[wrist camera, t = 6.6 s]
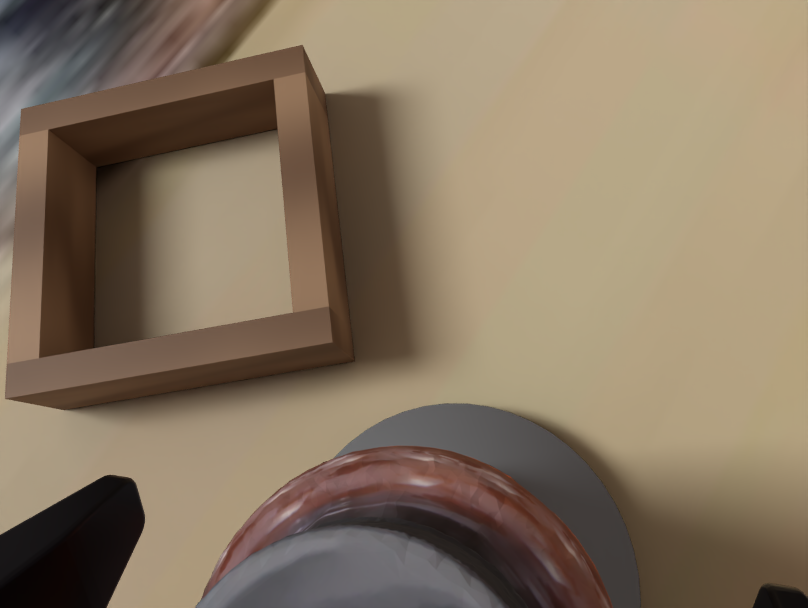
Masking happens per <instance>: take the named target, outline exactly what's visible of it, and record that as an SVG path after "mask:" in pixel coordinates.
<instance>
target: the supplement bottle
mask: <svg viewBox="0 0 808 608" xmlns="http://www.w3.org/2000/svg"><path fill="white" fill-rule="evenodd" d="M195 608H613V606H612V603H611V600H610V598H609V596H608V593H607V591H606V589H605V586H604V584H603V582H602V580H601V577H600V575H599V573H598V571H597V569H596V567H595V565H594V564H593V562H592V561H591V559H590V558H589V556H588V554H587V553H586V551H585V550H584V548H583V547H582V545H581V544H580V542H579V541H578V539H577V538H576V537H575V536H574V534H573V533H572V532H571V531H570V529H569V528H568V527H567V526H566V524H565V523H564V522H563V521H562V520H561V519H560V518H559V517H558V516H557V515H556V514H555V513H554V512H552V511H551V510H550V509H548V508H547V507H546V506H545V505H544V504H543V503H542V502H541V501H540V500H539V499H537V498H536V497H535V496H534V495H532V494H531V493H530V492H529V491H527V490H526V489H525V488H523V487H522V486H521V485H519V484H518V483H517V482H516V481H515V480H514V479H512V478H511V477H510V476H508V475H506V474H505V473H503V472H501V471H500V470H498V469H496V468H494V467H493V466H491V465H488V464H486V463H483V462H481V461H478V460H476V459H474V458H471V457H468V456H465V455H462V454H459V453H456V452H452V451H448V450H443V449H438V448H431V447H421V446H387V447H378V448H372V449H366V450H360V451H354V452H350V453H348V454H345V455H343V456H339V457H336V458H334V459H331V460H329V461H326V462H323V463H322V464H320V465H318V466H316V467H314V468H312V469H309V470H307V471H306V472H304V473H302V474H301V475H299V476H297V477H296V478H294V479H292V480H291V481H289V482H288V483H287V484H286V485H285V486H283V487H282V488H280V489H279V490H278V491H277V492H275V493H274V494H273V495H272V496H271V497H270V498H269V499H268V500H266V501H265V502H264V503H263V504H262V505H261V506H260V507H259V508H258V509H257V510H256V511H255V512H254V513H253V514H252V515H251V516H250V518H249V519H248V520H247V521H246V522H245V524H244V525H243V526H242V527H241V529H240V530H239V531H238V532H237V533H236V534H235V535H234V537H233V539H232V540H231V542H230V543H229V544H228V546H227V548H226V549H225V551H224V552H223V553H222V555H221V556H220V558H219V560H218V562H217V564H216V566H215V569H214V571H213V573H212V576H211V578H210V580H209V582H208V584H207V586H206V588H205V590H204V593H203V596H202V599H201V601H200V602H199V603H198V604H197V605H196V607H195Z"/></svg>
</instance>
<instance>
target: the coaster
mask: <svg viewBox="0 0 808 608" xmlns="http://www.w3.org/2000/svg"><path fill="white" fill-rule="evenodd" d="M387 446H421V447H431V448H438V449H443V450H448V451H452V452H456V453H459V454H462V455H465V456H468V457H471V458H474V459H476V460H478V461H481V462H483V463H486V464H488V465H491V466H493V467H494V468H496V469H498V470H500V471H501V472H503V473H505V474H506V475H508V476H510V477H511V478H512V479H514V480H515V481H516V482H517V483H518V484H519V485H521V486H522V487H523V488H525V489H526V490H527V491H529V492H530V493H531V494H532V495H534V496H535V497H536V498H537V499H539V500H540V501H541V502H542V503H543V504H544V505H545V506H546V507H547V508H548V509H550V510H551V511H552V512H554V513H555V514H556V515H557V516H558V517H559V518H560V519H561V520H562V521H563V522H564V523H565V524H566V526H567V527H568V528H569V529H570V531H571V532H572V533H573V534H574V536H575V537H576V538H577V539H578V541H579V542H580V544H581V545H582V547H583V548H584V550H585V551H586V553H587V554H588V556H589V558H590V559H591V561H592V562H593V564H594V565H595V567H596V569H597V571H598V573H599V575H600V577H601V580H602V582H603V584H604V586H605V589H606V591H607V593H608V596H609V598H610V600H611V603H612V606H613V608H640V607H641V599H640V585H639V574H638V569H637V564H636V559H635V554H634V550H633V547H632V544H631V540H630V537H629V534H628V531H627V528H626V526H625V523H624V521H623V519H622V517H621V515H620V513H619V511H618V508H617V506H616V504H615V502H614V501H613V499H612V498H611V496H610V494H609V493H608V491H607V490H606V488H605V486H604V485H603V483H602V482H601V481H600V479H599V478H598V477H597V476H596V474H595V473H594V472H593V471H592V469H591V468H590V467H589V466H588V464H587V463H586V462H585V461H584V460H583V459H582V458H581V457H580V456H579V455H577V454H576V453H575V452H574V451H573V450H572V449H571V448H570V447H569V446H568V445H567V444H565V443H564V442H563V441H561V440H560V439H559V438H557V437H556V436H555V435H553V434H552V433H551V432H549V431H547V430H545V429H544V428H542V427H540V426H538V425H537V424H535V423H533V422H531V421H529V420H527V419H524V418H522V417H520V416H517V415H515V414H512V413H510V412H506V411H503V410H499V409H495V408H492V407H488V406H480V405H473V404H438V405H430V406H423V407H420V408H416V409H412V410H408V411H404V412H402V413H399V414H397V415H395V416H392V417H390V418H387V419H385V420H383V421H381V422H379V423H378V424H376V425H374V426H372V427H371V428H369V429H367V430H366V431H364V432H363V433H362V434H360V435H359V436H358V437H356V438H355V439H354V440H352V441H351V442H350V443H349V444H348V445H346V446H345V447H344V448H343V449H342V450H341V451H340V452H339V453H338V454H337V455H336V456H335V457H334V458H336V457H339V456H343V455H345V454H348V453H350V452H354V451H360V450H366V449H372V448H378V447H387ZM334 458H333V459H334Z"/></svg>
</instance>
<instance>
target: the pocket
mask: <svg viewBox="0 0 808 608" xmlns="http://www.w3.org/2000/svg"><path fill="white" fill-rule="evenodd" d="M273 129H278V138H279V150H280V162H281V174H282V186H283V198H284V210H285V222H286V234H287V246H288V258H289V270H290V282H291V294H292V306H293V313H289V314H283V315H278V316H272V317H266V318H261V319H255V320H250V321H244V322H239V323H233V324H227V325H222V326H216V327H211V328H205V329H199V330H194V331H188V332H183V333H177V334H171V335H166V336H160V337H155V338H149V339H143V340H138V341H132V342H127V343H121V344H115V345H110V346H104V347H99V348H94V289H95V220H96V167H100V166H105V165H109V164H114V163H119V162H123V161H128V160H133V159H137V158H142V157H147V156H151V155H156V154H161V153H165V152H170V151H175V150H179V149H184V148H189V147H193V146H198V145H203V144H208V143H212V142H217V141H222V140H226V139H231V138H236V137H240V136H245V135H250V134H254V133H259V132H264V131H268V130H273ZM352 361H355V359H354V350H353V341H352V332H351V323H350V314H349V305H348V296H347V287H346V278H345V269H344V260H343V251H342V242H341V233H340V224H339V215H338V206H337V197H336V188H335V179H334V170H333V161H332V152H331V143H330V134H329V125H328V116H327V107H326V98H325V92H324V90H323V88H322V86H321V84H320V81H319V79H318V77H317V75H316V73H315V71H314V69H313V67H312V64H311V62H310V60H309V58H308V56H307V54H306V52H305V50H304V47H303V45H300V46H296V47H291V48H287V49H283V50H278V51H274V52H269V53H265V54H261V55H256V56H252V57H248V58H243V59H239V60H234V61H230V62H226V63H221V64H217V65H212V66H208V67H204V68H199V69H195V70H191V71H186V72H182V73H177V74H173V75H169V76H164V77H160V78H156V79H151V80H147V81H142V82H138V83H134V84H129V85H125V86H120V87H116V88H112V89H107V90H103V91H99V92H94V93H90V94H85V95H81V96H77V97H72V98H68V99H64V100H59V101H55V102H50V103H46V104H42V105H37V106H33V107H28V108H24V109H21V121H20V139H19V156H18V174H17V192H16V210H15V228H14V245H13V263H12V281H11V299H10V317H9V335H8V352H7V370H6V388H5V399H9V400H15V401H20V402H25V403H30V404H35V405H40V406H46V407H51V408H56V409H61V410H66V409H72V408H78V407H84V406H90V405H96V404H102V403H108V402H114V401H120V400H126V399H132V398H138V397H144V396H150V395H156V394H162V393H168V392H174V391H180V390H186V389H192V388H198V387H204V386H209V385H215V384H221V383H227V382H233V381H239V380H245V379H251V378H257V377H263V376H269V375H275V374H281V373H287V372H293V371H299V370H305V369H311V368H317V367H323V366H329V365H335V364H341V363H346V362H352Z"/></svg>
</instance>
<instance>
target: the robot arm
mask: <svg viewBox="0 0 808 608" xmlns="http://www.w3.org/2000/svg"><path fill="white" fill-rule="evenodd" d="M144 523H145V514H144V510H143V506H142V503H141V499H140V496H139V492H138V489H137V485H136V483H135V482H134V481H133V480H132V479H131V478H128V477H122V476H116V475H107V476H104V477H102V478H100V479H98V480H96V481H95V482H93V483H91V484H89V485H87V486H86V487H84V488H82V489H80V490H79V491H77V492H75V493H73V494H72V495H70V496H68V497H66V498H65V499H63V500H61V501H59V502H57V503H56V504H54V505H52V506H50V507H49V508H47V509H45V510H43V511H42V512H40V513H38V514H36V515H34V516H33V517H31V518H29V519H27V520H26V521H24V522H22V523H20V524H19V525H17V526H15V527H13V528H12V529H10V530H8V531H6V532H4V533H3V534H1V535H0V608H107V606H108V603H109V601H110V599H111V597H112V595H113V593H114V591H115V589H116V586H117V584H118V582H119V580H120V578H121V576H122V574H123V572H124V569H125V567H126V565H127V563H128V561H129V559H130V557H131V555H132V553H133V550H134V548H135V546H136V544H137V542H138V540H139V538H140V536H141V533H142V531H143V528H144ZM753 608H808V597H807V596H806V595H805V594H804V593H803V592H802V591H801V590H799V589H797V588H794V587H790V586H784V585H777V584H771V583H766V584H764V585H763V586H762V587H761V588H760V590H759V593H758V595H757V598H756V600H755V603H754V606H753Z"/></svg>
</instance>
